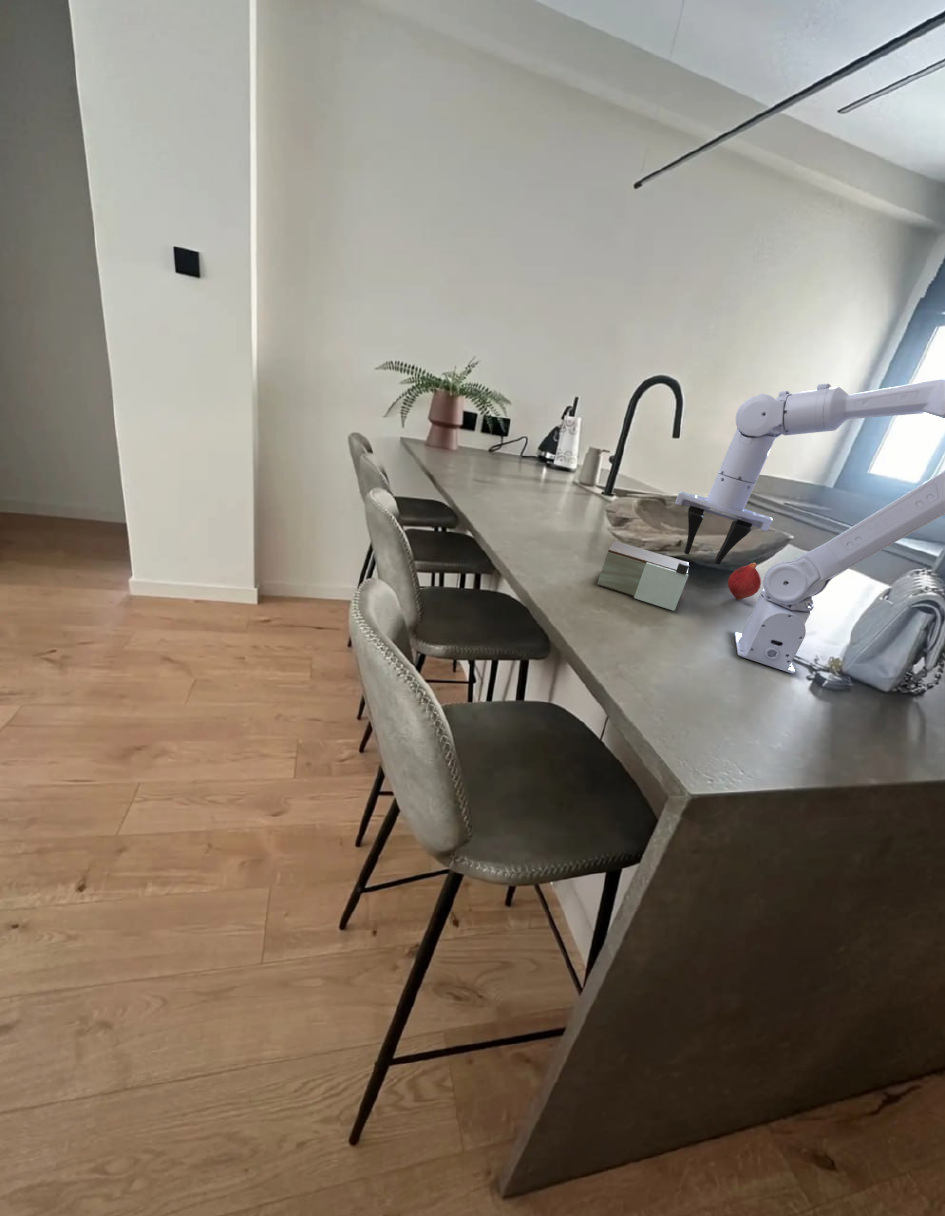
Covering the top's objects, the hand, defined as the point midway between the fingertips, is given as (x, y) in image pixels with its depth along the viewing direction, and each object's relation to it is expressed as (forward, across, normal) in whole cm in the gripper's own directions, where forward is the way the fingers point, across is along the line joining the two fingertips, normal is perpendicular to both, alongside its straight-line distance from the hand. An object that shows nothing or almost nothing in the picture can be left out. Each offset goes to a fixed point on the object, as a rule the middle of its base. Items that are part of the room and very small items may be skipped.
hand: (701, 557), depth 88 cm
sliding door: (+10, +4, 0) cm, 11 cm away
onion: (+11, -11, -20) cm, 25 cm away
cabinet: (+11, +8, -5) cm, 14 cm away
